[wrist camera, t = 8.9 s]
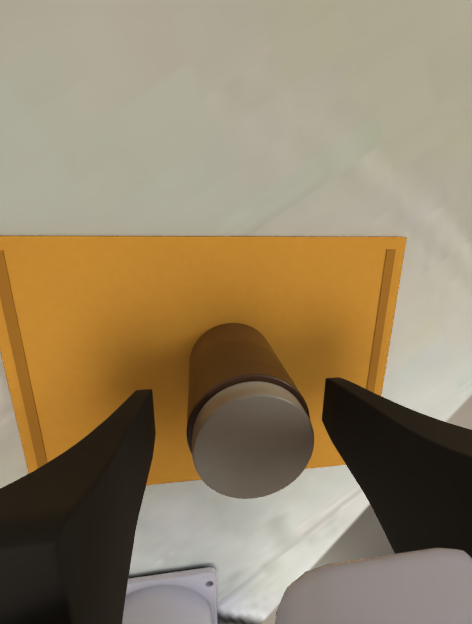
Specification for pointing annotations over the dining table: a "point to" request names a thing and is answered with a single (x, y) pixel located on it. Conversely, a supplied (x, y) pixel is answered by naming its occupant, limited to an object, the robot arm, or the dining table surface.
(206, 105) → the dining table surface
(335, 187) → the dining table surface
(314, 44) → the dining table surface
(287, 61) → the dining table surface
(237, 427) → the pepper shaker
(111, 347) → the orange cutting board
